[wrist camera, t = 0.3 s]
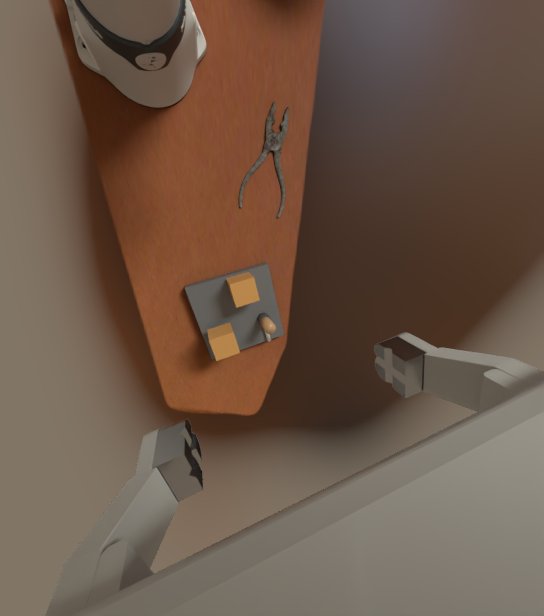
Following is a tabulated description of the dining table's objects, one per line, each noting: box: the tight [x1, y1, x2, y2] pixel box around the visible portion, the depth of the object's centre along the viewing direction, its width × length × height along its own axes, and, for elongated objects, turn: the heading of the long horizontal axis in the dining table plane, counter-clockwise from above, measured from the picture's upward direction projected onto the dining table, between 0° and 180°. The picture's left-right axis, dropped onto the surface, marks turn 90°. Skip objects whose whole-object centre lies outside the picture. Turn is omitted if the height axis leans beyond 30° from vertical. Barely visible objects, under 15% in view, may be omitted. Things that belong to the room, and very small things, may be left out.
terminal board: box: [185, 262, 284, 361], centre depth 54 cm, size 18×18×9 cm
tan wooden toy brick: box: [226, 272, 260, 308], centre depth 52 cm, size 5×5×5 cm
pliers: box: [239, 101, 289, 218], centre depth 49 cm, size 10×1×20 cm
